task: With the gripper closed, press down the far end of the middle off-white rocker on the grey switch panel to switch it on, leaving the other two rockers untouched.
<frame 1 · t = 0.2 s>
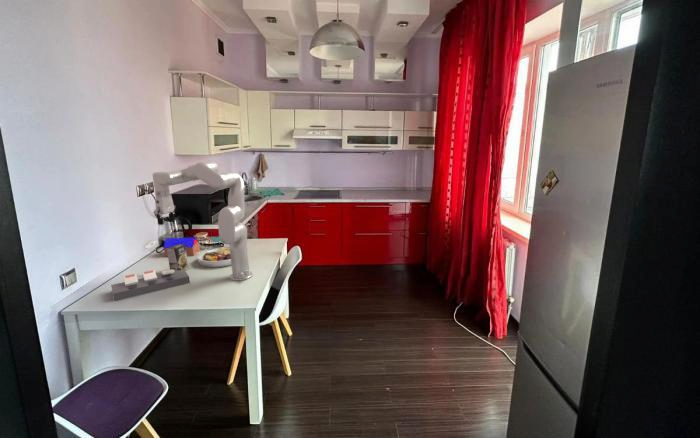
hand: (166, 222, 217), 31 cm above the table, tool pointing down, fingers open, 9 cm apart
house: (183, 254, 258), on the table
bowl: (223, 261, 242), on the table
rocker middle: (149, 276, 202), point 6 cm above the table, hinge at -15.0°
rocker right: (167, 272, 207), point 6 cm above the table, hinge at 15.0°
grey switch panel: (152, 287, 201), on the table
coffee box: (179, 272, 224), on the table
cutlery set: (212, 244, 280), on the table
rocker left: (131, 280, 197), point 6 cm above the table, hinge at -15.0°
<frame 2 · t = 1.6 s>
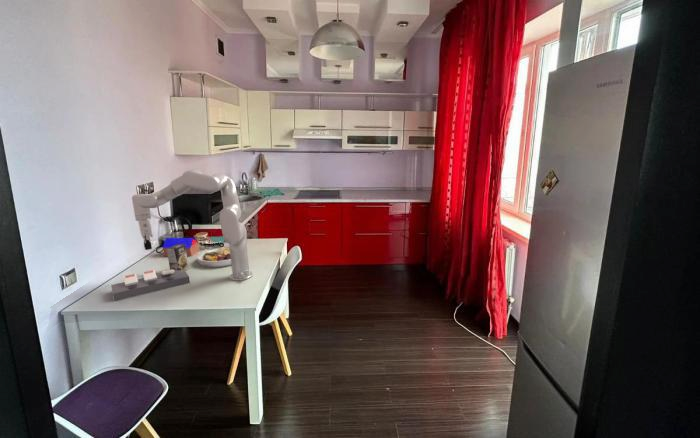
hand: (148, 248, 206), 19 cm above the table, tool pointing down, fingers closed
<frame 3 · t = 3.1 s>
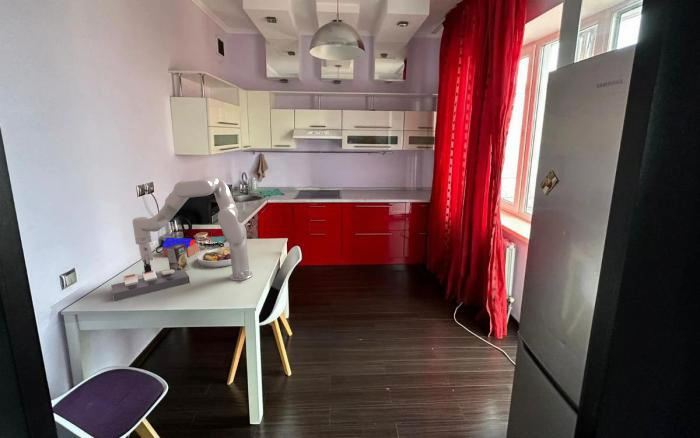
hand: (148, 271, 205), 7 cm above the table, tool pointing down, fingers closed
rocker middle: (149, 276, 202), point 6 cm above the table, hinge at -13.8°, touching gripper
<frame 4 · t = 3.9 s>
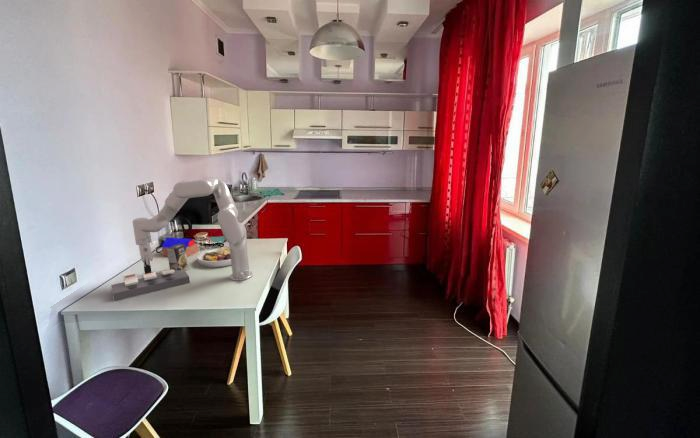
hand: (148, 272, 205), 7 cm above the table, tool pointing down, fingers closed
rocker middle: (149, 276, 202), point 6 cm above the table, hinge at 0.3°
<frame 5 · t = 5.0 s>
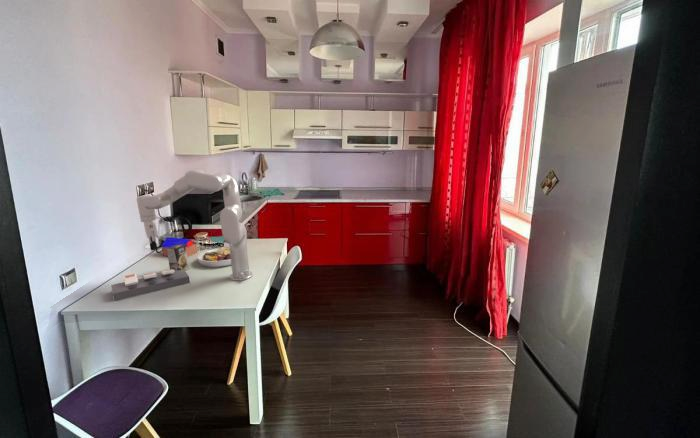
hand: (154, 249, 208), 18 cm above the table, tool pointing down, fingers closed
rocker middle: (149, 276, 202), point 6 cm above the table, hinge at 11.5°
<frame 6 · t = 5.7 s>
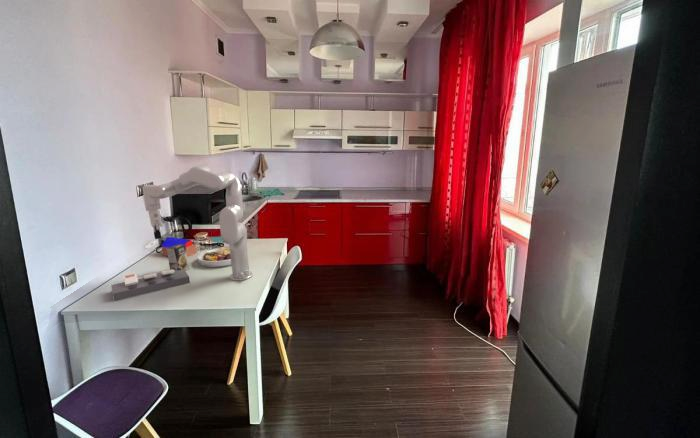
hand: (158, 238, 212), 23 cm above the table, tool pointing down, fingers closed
rocker middle: (149, 276, 202), point 6 cm above the table, hinge at 15.4°
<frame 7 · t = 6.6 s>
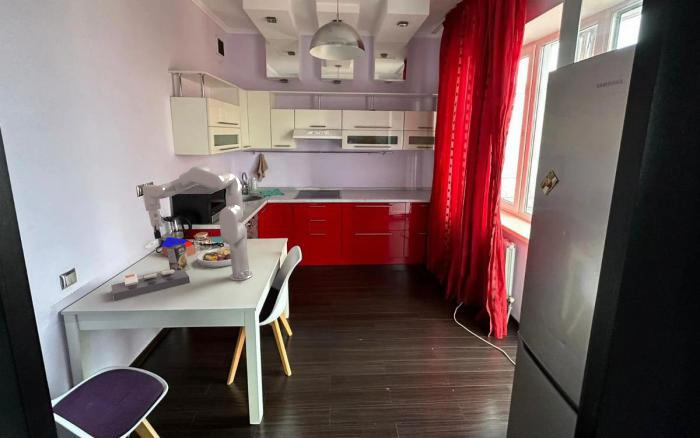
hand: (158, 238, 212), 23 cm above the table, tool pointing down, fingers closed
rocker middle: (149, 276, 202), point 6 cm above the table, hinge at 18.5°
at the end: rocker middle at +19° (first picture: -15°); rocker right at +15° (first picture: +15°); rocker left at -15° (first picture: -15°) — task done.
